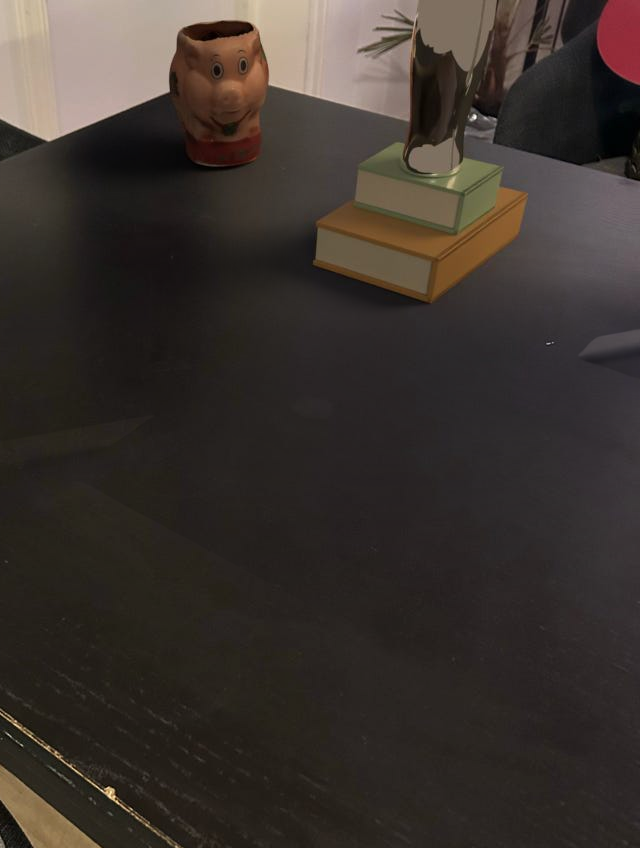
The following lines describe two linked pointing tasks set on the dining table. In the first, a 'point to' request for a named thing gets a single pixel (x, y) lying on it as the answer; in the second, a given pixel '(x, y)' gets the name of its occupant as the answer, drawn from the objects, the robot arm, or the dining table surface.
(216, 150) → the decorative planter
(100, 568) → the dining table surface
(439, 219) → the small book
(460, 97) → the beer glass
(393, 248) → the big book
